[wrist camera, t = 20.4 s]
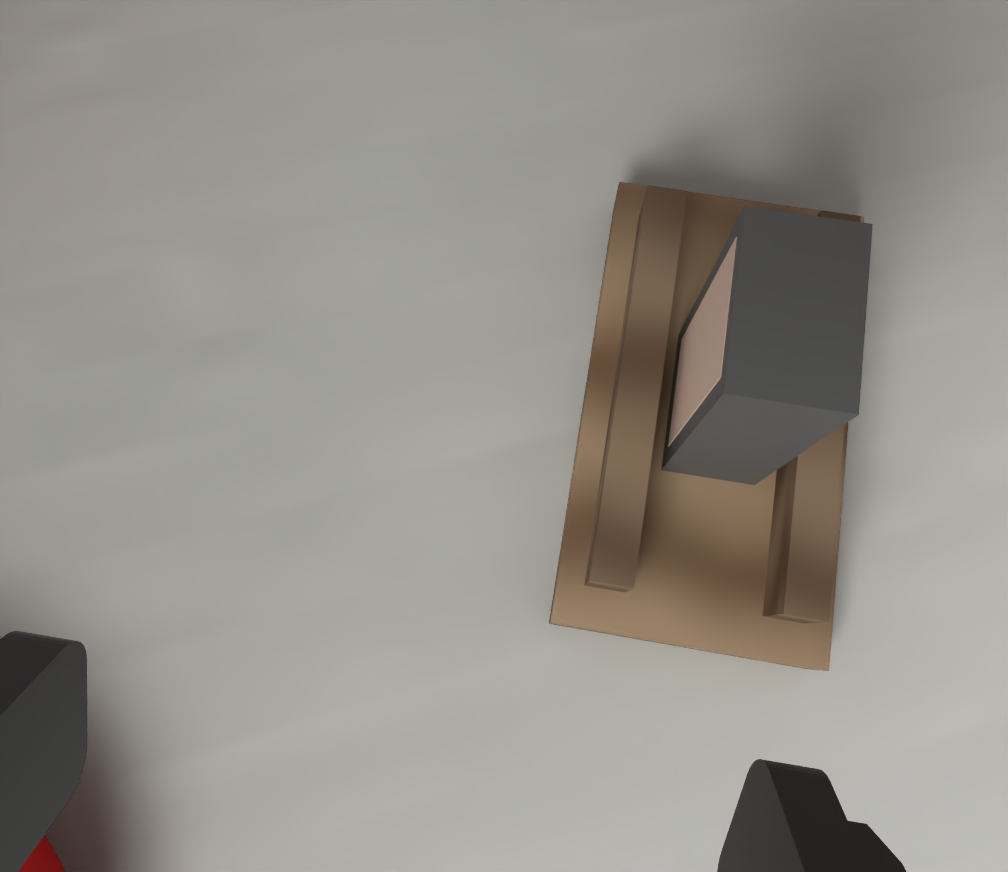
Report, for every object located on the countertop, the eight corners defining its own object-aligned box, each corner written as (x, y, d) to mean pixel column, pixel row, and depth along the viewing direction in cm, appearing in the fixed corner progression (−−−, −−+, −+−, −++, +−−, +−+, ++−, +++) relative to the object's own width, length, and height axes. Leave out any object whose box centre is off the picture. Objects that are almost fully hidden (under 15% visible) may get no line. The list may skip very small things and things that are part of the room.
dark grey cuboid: (754, 485, 31) (859, 414, 22) (660, 470, 32) (722, 393, 22) (768, 348, 33) (873, 224, 23) (677, 334, 33) (743, 205, 23)
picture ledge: (809, 669, 32) (856, 673, 27) (548, 623, 32) (553, 620, 28) (845, 240, 36) (890, 184, 32) (613, 206, 37) (627, 147, 32)
